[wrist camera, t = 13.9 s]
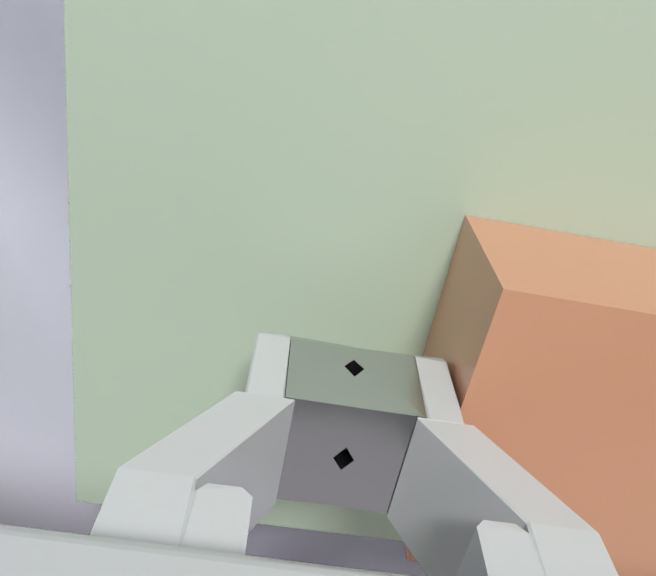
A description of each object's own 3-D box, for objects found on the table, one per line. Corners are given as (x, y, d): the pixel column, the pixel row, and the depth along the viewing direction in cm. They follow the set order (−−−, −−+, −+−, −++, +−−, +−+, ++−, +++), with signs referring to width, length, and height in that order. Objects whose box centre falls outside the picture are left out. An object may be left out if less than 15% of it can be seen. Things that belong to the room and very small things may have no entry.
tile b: (465, 214, 10) (503, 288, 8) (758, 266, 10) (874, 351, 8) (393, 450, 12) (406, 560, 10) (635, 486, 13) (699, 599, 10)
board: (141, -809, 7) (31, -1252, 5) (1208, -512, 8) (1620, -731, 6) (119, 408, 16) (76, 501, 13) (653, 480, 17) (714, 579, 14)
